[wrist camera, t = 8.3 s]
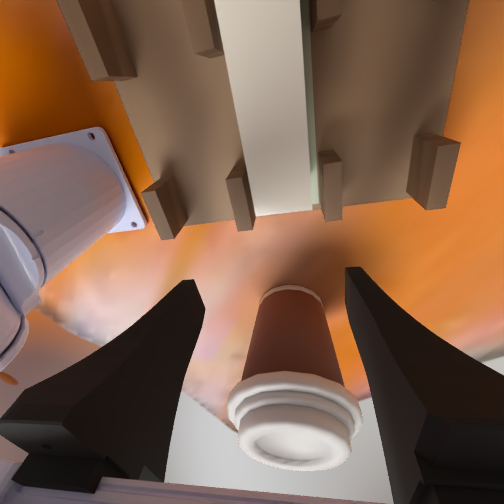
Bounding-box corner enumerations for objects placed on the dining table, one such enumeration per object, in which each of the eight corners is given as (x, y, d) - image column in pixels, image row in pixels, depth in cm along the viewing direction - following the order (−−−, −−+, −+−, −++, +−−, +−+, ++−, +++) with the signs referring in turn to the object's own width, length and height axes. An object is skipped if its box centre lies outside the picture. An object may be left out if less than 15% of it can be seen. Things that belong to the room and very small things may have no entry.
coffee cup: (353, 286, 23) (402, 438, 13) (318, 345, 28) (335, 486, 18) (256, 263, 23) (233, 399, 13) (239, 327, 28) (212, 459, 18)
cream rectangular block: (263, 185, 18) (255, 216, 14) (231, -10, 13) (203, -55, 8) (306, 179, 17) (312, 209, 13) (291, -28, 12) (294, -86, 8)
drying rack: (176, 221, 22) (156, 247, 18) (90, -1, 14) (31, -27, 11) (424, 190, 18) (455, 214, 15) (481, -135, 10) (571, -235, 7)
